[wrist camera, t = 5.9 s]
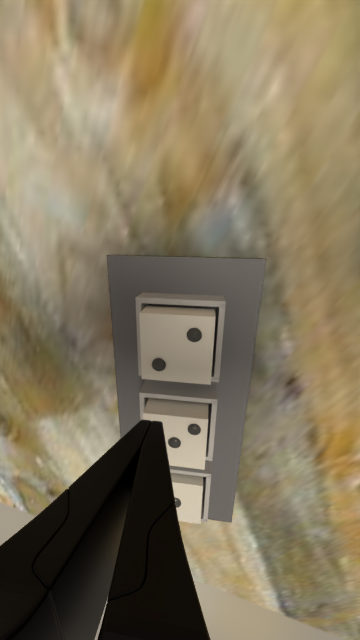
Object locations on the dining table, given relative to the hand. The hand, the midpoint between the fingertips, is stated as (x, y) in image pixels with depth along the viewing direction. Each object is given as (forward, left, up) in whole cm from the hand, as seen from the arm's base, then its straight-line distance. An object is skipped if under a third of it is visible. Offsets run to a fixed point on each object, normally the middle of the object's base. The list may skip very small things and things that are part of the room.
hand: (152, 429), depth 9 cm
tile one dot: (0, +16, -10) cm, 19 cm away
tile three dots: (0, +8, -9) cm, 12 cm away
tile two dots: (0, 0, -9) cm, 9 cm away
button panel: (0, +8, -12) cm, 14 cm away
